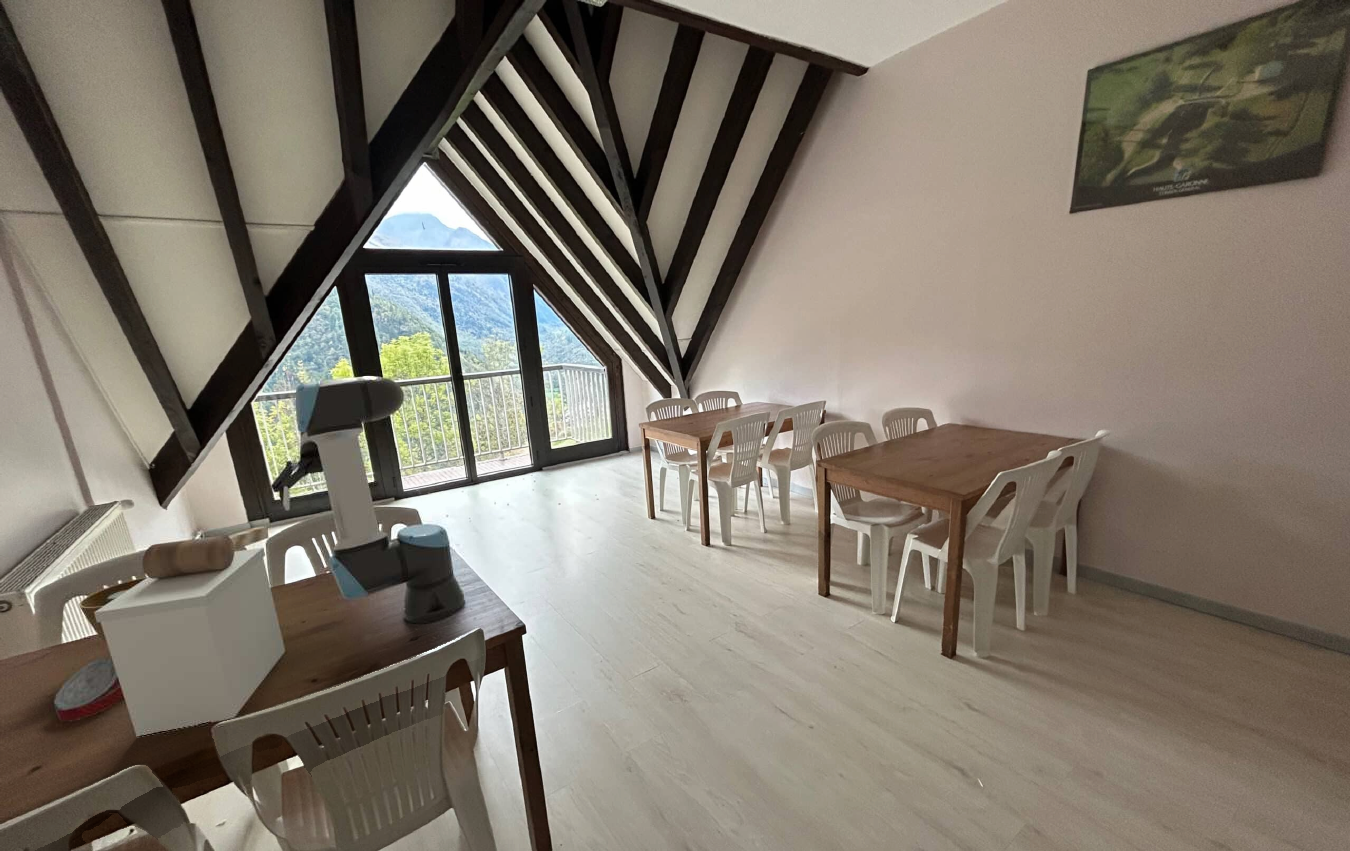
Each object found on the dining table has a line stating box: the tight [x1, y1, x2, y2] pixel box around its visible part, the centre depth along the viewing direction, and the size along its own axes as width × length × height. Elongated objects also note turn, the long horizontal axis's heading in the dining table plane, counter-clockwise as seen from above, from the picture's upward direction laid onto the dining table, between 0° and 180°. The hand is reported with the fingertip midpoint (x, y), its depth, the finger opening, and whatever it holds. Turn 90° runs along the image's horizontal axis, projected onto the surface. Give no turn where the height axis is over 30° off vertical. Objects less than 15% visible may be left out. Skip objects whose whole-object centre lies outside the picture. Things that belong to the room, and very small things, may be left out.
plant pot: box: [78, 576, 148, 646], centre depth 126 cm, size 15×15×16 cm
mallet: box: [142, 526, 269, 579], centre depth 118 cm, size 30×12×7 cm, turn 15°
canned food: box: [53, 656, 124, 722], centre depth 108 cm, size 11×10×10 cm
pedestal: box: [94, 547, 286, 737], centre depth 108 cm, size 22×17×27 cm
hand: (316, 501), depth 143 cm, fingers open, 13 cm apart
